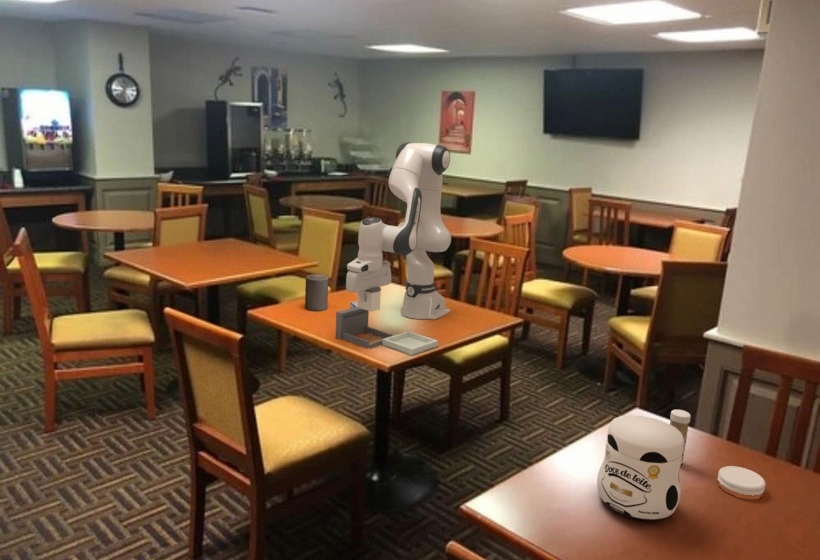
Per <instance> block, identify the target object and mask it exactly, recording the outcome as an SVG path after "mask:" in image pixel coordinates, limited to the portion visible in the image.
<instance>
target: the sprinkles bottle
mask: <svg viewBox="0 0 820 560" xmlns="http://www.w3.org/2000/svg"><path fill="white" fill-rule="evenodd" d="M691 418H692V417H691V414H690V413H689V412H688V411H686V410H683V409H673V410H671V412H670V418H669V419H670V422H669V424H670V425H672V426H674V427H675V428H676V429H678V430H679V431H680V432H681V433H682V436H683V440H684V445H683V452H682V460H681V462H682V461H683V462H684V456H685V451H686V444H687V438H688V432H689V431H688V430H689V424H690V422H691Z"/></svg>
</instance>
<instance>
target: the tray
mask: <svg viewBox="0 0 820 560" xmlns="http://www.w3.org/2000/svg"><path fill="white" fill-rule="evenodd" d="M381 340H382V345H383V347H385V346H386V348H388V347H389V348H388V349H391V350H394V351H396V350H397V352H399V351H400V353H403V354H406V355H409V356H411V357H412V356H416V355H419V354H421V353H425V352H427V351H430V350H433V349H436V348H438V347H439V339H434V338H431V337H428V336H424V335H422V334H419V333H415V332H413V331H409V330H407V331H404V332H400V333H397V334H394V335H392V336H391V337H388V338H384V339H383V338H381ZM382 345H381V346H382Z"/></svg>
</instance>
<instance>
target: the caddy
mask: <svg viewBox="0 0 820 560" xmlns="http://www.w3.org/2000/svg"><path fill="white" fill-rule="evenodd" d="M381 291H382V288H381V287H380V288H378V287H376V288H375V287H373V288H371V289H368V290H365V293H364V296H365V297H366V301H365V302H361V301H360V296H359V294H358V293H357V302H358V308H361V309H364V310H368V311H369V312H375V311H379V310H381Z"/></svg>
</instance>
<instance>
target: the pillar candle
mask: <svg viewBox="0 0 820 560" xmlns="http://www.w3.org/2000/svg"><path fill="white" fill-rule="evenodd" d="M329 278H330V277H329V276H327V275H325V274H317V273H316V274H308V275H306V276H305V289H304V291H305V293H304V294H305V295H304V297H305V298H304V309H305V310H306V309H307V310H306V311H310V312H323V311H322V310H324V311H327V310H328V305H329V303H328V301H329ZM326 309H327V310H326Z"/></svg>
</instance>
